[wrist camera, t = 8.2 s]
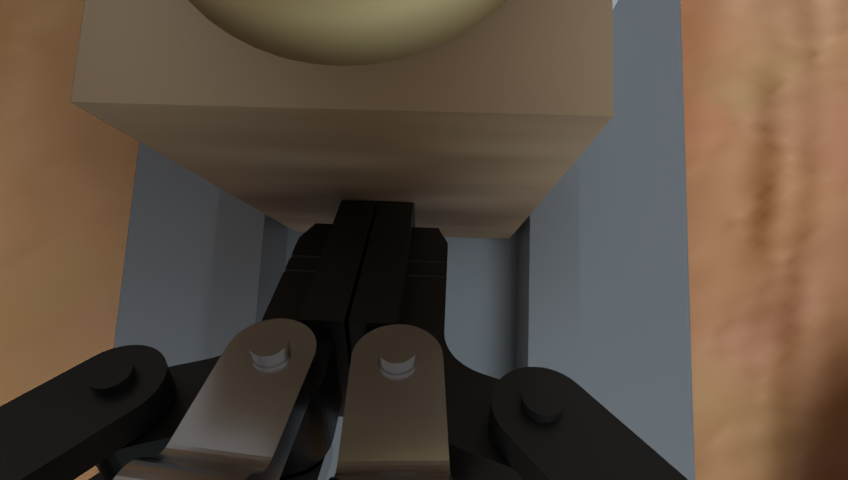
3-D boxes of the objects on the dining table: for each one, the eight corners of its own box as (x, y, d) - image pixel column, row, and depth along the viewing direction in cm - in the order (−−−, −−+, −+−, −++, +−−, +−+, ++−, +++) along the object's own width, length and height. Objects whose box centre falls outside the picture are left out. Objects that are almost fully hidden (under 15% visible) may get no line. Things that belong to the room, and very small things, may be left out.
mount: (115, 508, 15) (-163, 671, 8) (198, -186, 18) (50, -490, 11) (679, 542, 14) (898, 751, 7) (660, -185, 18) (800, -507, 11)
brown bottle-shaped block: (294, 231, 15) (-121, -9, 4) (310, 33, 16) (7, -619, 5) (509, 239, 14) (706, 6, 4) (512, 37, 15) (682, -641, 4)
